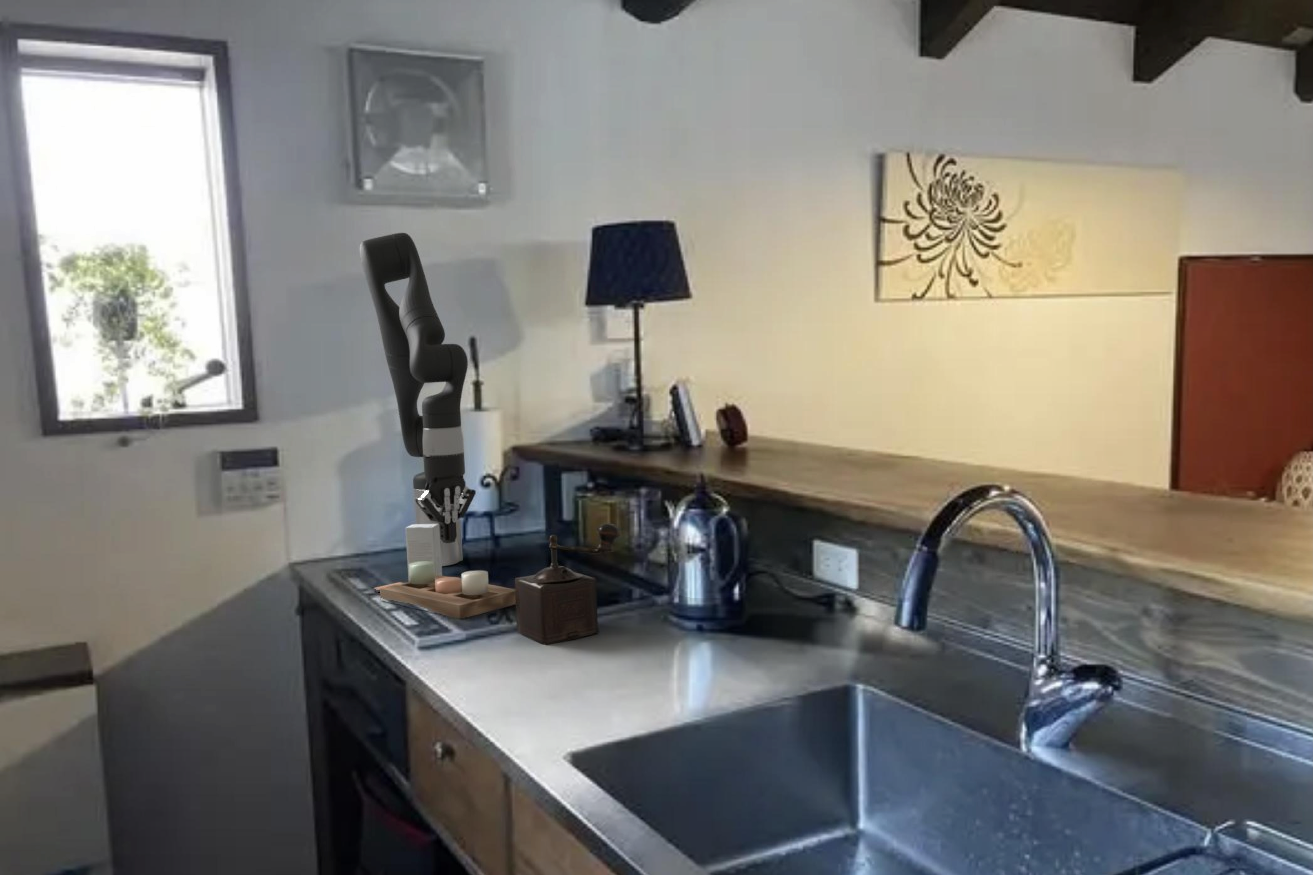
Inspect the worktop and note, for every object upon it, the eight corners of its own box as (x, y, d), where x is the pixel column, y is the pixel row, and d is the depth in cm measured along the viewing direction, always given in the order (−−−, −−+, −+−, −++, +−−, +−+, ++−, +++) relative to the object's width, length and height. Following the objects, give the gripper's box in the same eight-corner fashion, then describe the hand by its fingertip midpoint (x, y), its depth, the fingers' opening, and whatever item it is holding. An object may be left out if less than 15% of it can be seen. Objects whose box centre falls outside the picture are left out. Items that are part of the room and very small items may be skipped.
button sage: (425, 577, 208) (424, 560, 208) (440, 580, 205) (439, 562, 205) (404, 582, 205) (403, 564, 204) (419, 585, 201) (418, 567, 201)
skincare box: (443, 580, 219) (440, 523, 218) (436, 584, 215) (433, 526, 214) (414, 580, 220) (411, 523, 219) (407, 585, 216) (404, 527, 215)
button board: (439, 587, 213) (439, 574, 213) (519, 603, 197) (518, 590, 197) (380, 601, 202) (379, 588, 202) (459, 619, 187) (459, 605, 187)
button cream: (477, 587, 198) (476, 569, 197) (494, 591, 195) (493, 572, 194) (456, 592, 194) (456, 574, 194) (473, 596, 191) (472, 577, 191)
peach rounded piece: (451, 593, 203) (450, 575, 203) (467, 597, 200) (466, 578, 200) (430, 598, 200) (429, 580, 199) (446, 602, 196) (445, 583, 196)
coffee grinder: (546, 646, 168) (541, 535, 166) (514, 632, 177) (510, 526, 176) (628, 629, 177) (624, 523, 175) (594, 616, 186) (590, 515, 184)
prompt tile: (399, 586, 215) (399, 582, 215) (417, 589, 211) (417, 585, 211) (374, 591, 211) (374, 587, 211) (392, 595, 207) (391, 591, 207)
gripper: (458, 446, 205) (463, 534, 207) (402, 454, 195) (407, 546, 197) (484, 448, 200) (488, 538, 202) (427, 456, 190) (432, 550, 192)
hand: (448, 542), depth 199 cm, fingers closed
